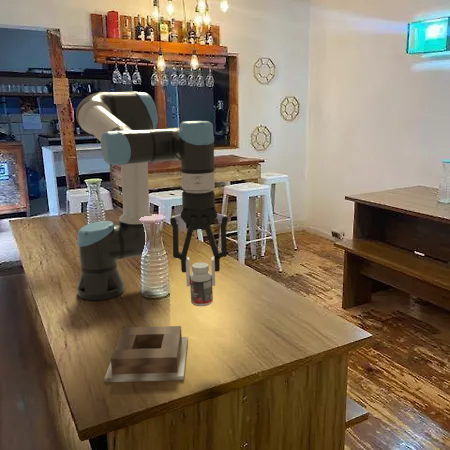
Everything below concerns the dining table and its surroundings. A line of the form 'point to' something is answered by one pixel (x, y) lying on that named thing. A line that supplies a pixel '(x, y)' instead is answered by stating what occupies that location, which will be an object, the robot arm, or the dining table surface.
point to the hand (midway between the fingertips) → (201, 283)
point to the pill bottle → (201, 285)
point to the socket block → (148, 355)
